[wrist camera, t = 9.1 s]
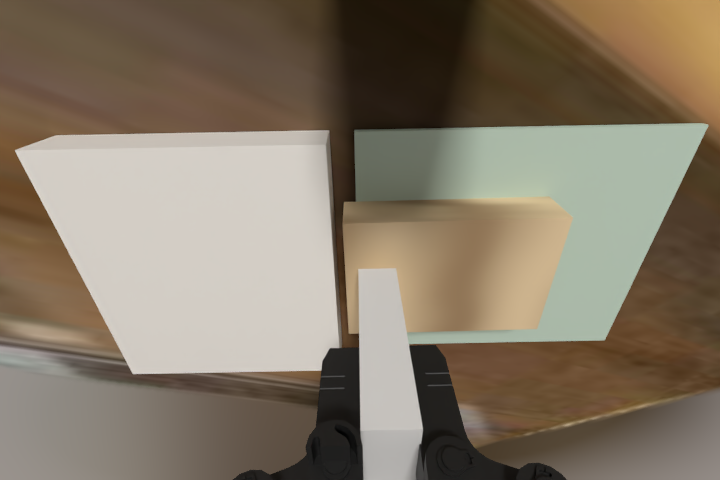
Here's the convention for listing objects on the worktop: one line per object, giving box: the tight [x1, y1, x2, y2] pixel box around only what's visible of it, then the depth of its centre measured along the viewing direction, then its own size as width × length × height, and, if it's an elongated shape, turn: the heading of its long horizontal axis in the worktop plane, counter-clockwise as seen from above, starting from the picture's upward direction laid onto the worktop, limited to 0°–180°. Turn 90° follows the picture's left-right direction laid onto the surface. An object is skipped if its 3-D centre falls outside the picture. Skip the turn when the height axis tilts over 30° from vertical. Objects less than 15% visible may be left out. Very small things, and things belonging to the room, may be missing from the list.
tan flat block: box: [343, 196, 573, 334], centre depth 16 cm, size 9×6×2 cm, turn 91°
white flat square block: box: [15, 130, 342, 374], centre depth 16 cm, size 11×12×2 cm
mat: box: [354, 123, 708, 344], centre depth 17 cm, size 14×12×1 cm
